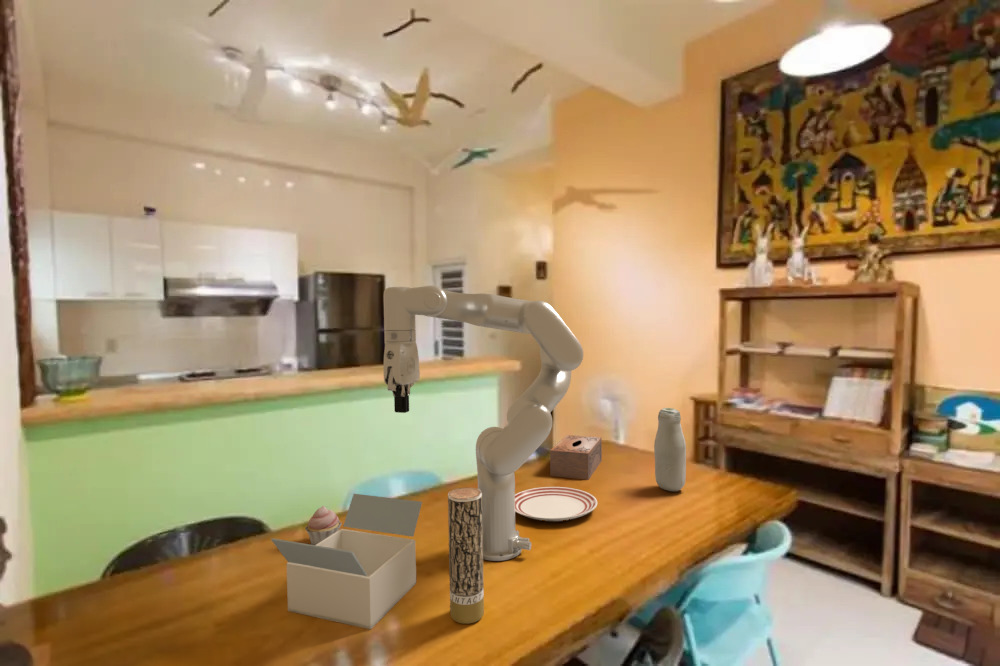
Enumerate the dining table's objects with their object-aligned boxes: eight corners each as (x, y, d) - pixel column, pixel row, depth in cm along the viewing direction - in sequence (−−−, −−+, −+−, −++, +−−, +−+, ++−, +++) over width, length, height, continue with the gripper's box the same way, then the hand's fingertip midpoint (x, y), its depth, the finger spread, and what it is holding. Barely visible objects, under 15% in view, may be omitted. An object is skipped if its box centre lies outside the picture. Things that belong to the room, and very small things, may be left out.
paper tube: (450, 607, 107) (448, 488, 106) (483, 605, 107) (481, 486, 106) (450, 626, 100) (447, 500, 99) (484, 624, 100) (482, 498, 100)
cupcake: (348, 536, 142) (347, 501, 141) (330, 552, 133) (329, 514, 132) (318, 534, 144) (317, 499, 143) (298, 549, 135) (297, 511, 134)
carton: (416, 583, 116) (415, 539, 116) (370, 629, 100) (369, 578, 99) (342, 569, 123) (341, 528, 123) (288, 611, 106) (286, 563, 106)
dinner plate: (494, 521, 152) (494, 510, 151) (525, 491, 177) (525, 481, 177) (586, 534, 141) (586, 522, 141) (605, 500, 167) (605, 490, 166)
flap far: (412, 536, 116) (413, 536, 117) (421, 501, 120) (422, 502, 120) (343, 526, 123) (343, 526, 123) (353, 493, 127) (354, 493, 127)
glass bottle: (688, 488, 177) (688, 407, 176) (681, 497, 168) (681, 412, 167) (659, 483, 182) (659, 404, 181) (651, 492, 173) (650, 409, 172)
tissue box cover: (588, 480, 187) (588, 453, 187) (550, 476, 193) (550, 450, 192) (601, 461, 211) (601, 437, 211) (567, 458, 216) (567, 434, 216)
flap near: (288, 560, 106) (287, 561, 105) (271, 538, 101) (271, 539, 101) (366, 574, 99) (366, 576, 99) (352, 551, 95) (351, 553, 95)
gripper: (397, 339, 117) (399, 418, 118) (428, 336, 131) (429, 407, 132) (369, 339, 120) (371, 417, 121) (402, 336, 134) (404, 406, 135)
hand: (401, 411), depth 126 cm, fingers closed
